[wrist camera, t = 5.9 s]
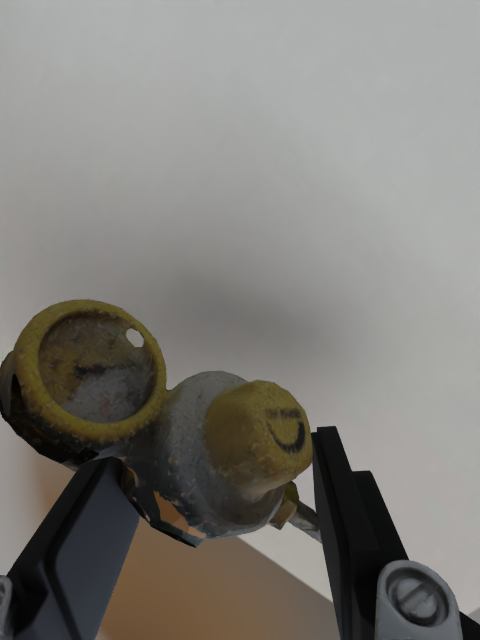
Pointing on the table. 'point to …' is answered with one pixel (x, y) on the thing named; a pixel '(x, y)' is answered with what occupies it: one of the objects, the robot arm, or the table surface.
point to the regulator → (158, 425)
